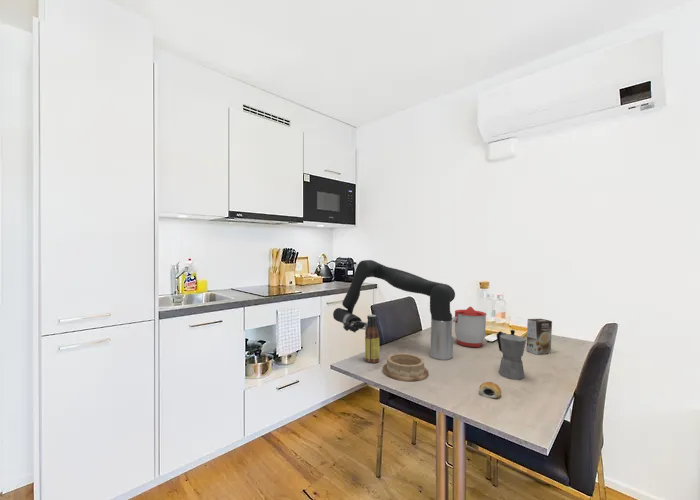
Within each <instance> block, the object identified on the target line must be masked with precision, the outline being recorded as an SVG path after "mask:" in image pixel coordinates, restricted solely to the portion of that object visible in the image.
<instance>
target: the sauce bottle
mask: <svg viewBox="0 0 700 500" xmlns="http://www.w3.org/2000/svg"><path fill="white" fill-rule="evenodd" d="M366 317H367V322H368V326H367V328H366V330H364V331H365V332H364V334H365V336H364V340H365V342H364V349H365V352H364V353H365V354H364V355H365V356H364V357H365V361H366V362H367V363H370V364H372V363H373V364H375V363H379V362H380V357H381V356H380V355H381V354H380V331H379V329H378V325H377V318H378V317H377V315H376V314H368V315H367V316H366Z"/></svg>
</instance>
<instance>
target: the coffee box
mask: <svg viewBox="0 0 700 500" xmlns="http://www.w3.org/2000/svg"><path fill="white" fill-rule="evenodd" d="M526 327H527V328H526V346H525V349H526V350H525V351H526V352H528V351H529V352H528V353H531V354H533V353H534V355H537V356H538V354H540V355H548V354H547V353H551V354H552V331H553V330H552V329H553V328H552V327H553V321H552V320H550V319H549V320H548V319H546V318H545V319H543V318H527V325H526Z"/></svg>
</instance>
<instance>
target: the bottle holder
mask: <svg viewBox="0 0 700 500" xmlns="http://www.w3.org/2000/svg"><path fill="white" fill-rule="evenodd" d="M382 373H383V374H384V375H385V376H386V377H388V378H390V379H394V380H397V381H401V382H420V381H423V380H426V379H427V378H428V377H429V369H428V368H427V367H425V360H424V358H422V357H420V356H418V355H417V354H412V353H411V354H410V353H402V352H401V353H392V354H389V355H388V356H387V358H386V363H385V364H384V365H383V366H382Z"/></svg>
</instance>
